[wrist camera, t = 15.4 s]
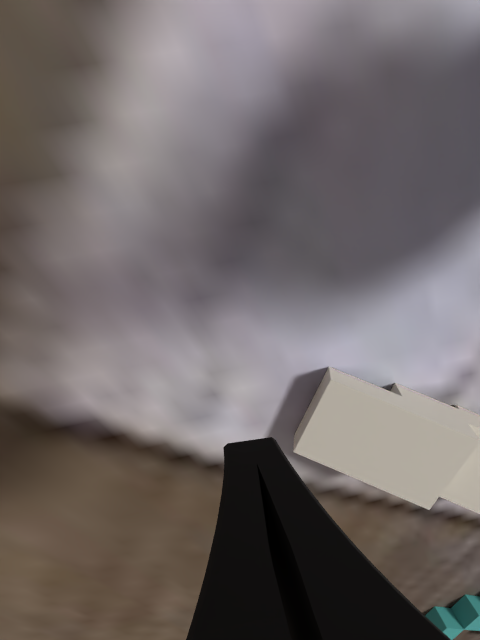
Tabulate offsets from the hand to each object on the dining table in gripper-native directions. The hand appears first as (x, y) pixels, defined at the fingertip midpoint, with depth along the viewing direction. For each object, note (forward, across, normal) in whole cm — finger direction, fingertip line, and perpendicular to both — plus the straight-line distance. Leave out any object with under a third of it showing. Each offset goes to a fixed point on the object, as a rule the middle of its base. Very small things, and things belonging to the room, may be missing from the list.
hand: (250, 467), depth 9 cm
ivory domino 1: (+8, -5, +5) cm, 10 cm away
